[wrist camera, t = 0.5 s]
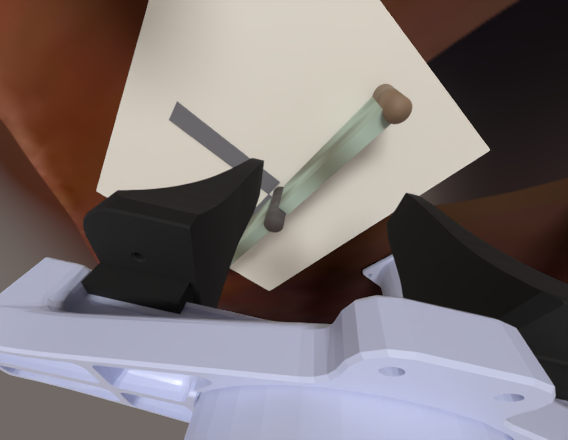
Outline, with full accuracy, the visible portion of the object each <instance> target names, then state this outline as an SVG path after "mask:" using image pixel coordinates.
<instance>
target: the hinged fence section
mask: <svg viewBox="0 0 568 440" xmlns="http://www.w3.org/2000/svg"><path fill="white" fill-rule="evenodd" d="M411 112H412V102H411V101H410V99H408V98H407V97H406V96H404V95H403V94H402V93H400V92H399V91H398V90H397V89H395V88H394V87H393V86H391V85H390V84H382V85H380V86H378V87H377V88H376V89H375V91H374V93H373V96H372V97H371V98H370V99H369V100H368V101H367V102H366V103H365V104H364V105H363V106H362V107H361V108H360V110H359V111H358V112H357V113H356V114H355V115H354V116H353V117H352V118H351V119H350V120H349V121H348V122H347V123H346V124H345V125H344V126H343V127H342V128H341V129H340V130H339V131H338V132H337V133H336V134H335V135H334V136H333V137H332V138H331V139H330V140H329V141H328V142H327V143H326V144H325V145H324V146H323V147H322V148H321V149H320V150H319V151H318V152H317V153H316V154H315V155H314V156H313V157H312V158H311V159H310V160H309V161H308V162H307V163H306V164H305V165H304V166H303V167H302V168H301V169H300V170H299V171H298V172H297V173H296V174H295V175H294V176H293V177H292V178H291V179H290V180H289V181H288V182H287V183H286V184H285V185H284V188H283V192H282V196H281V200H280V204H279V209H281V210H282V211H284V212H285V213H286V214H290V213H291V212H292V211H293V210H294V209H295V208H296V207H298V206H299V205H300V204H301V203H302V202H303V201H304V200H305V199H307V198H308V197H309V196H310V195H311V194H312V193H313V192H315V191H316V190H317V189H318V188H319V187H320V186H321V185H322V184H324V183H325V182H326V181H327V180H328V179H329V178H330V177H332V176H333V175H334V174H335V173H336V172H337V171H338V170H339V169H341V168H342V167H343V166H344V165H345V164H346V163H347V162H348V161H350V160H351V159H352V158H353V157H354V156H355V155H356V154H358V153H359V152H360V151H361V150H362V149H363V148H364V147H365V146H367V145H368V144H369V143H370V142H371V141H372V140H373V139H375V138H376V137H377V136H378V135H379V134H380V133H381V132H382V131H384V130H385V129H386V128H387V127H388V126H389V125H390V124H399V123H402V122H404V121H405V120H406V119H407V118H408V117H409V116H410V114H411Z"/></svg>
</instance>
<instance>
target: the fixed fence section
mask: <svg viewBox="0 0 568 440" xmlns="http://www.w3.org/2000/svg"><path fill="white" fill-rule="evenodd" d="M283 188H284V187H277V188H275V190H274V192H273V195H272V198H270V199H269V200H268V201H267V202H266V203H265V204H264V205H263V206H262V207H261V208H260V209H259V210H258V211H257V212H256V213H255V214H254V215H253V217H252V218H251V219H250V221H249V223H248V225H247V227H246V229H245V231H244V233H243V235H242V237H241V239H240V241H239V244H238V246H237V249H236V251H235V254H234V257H233V260H232V263H231V265H232V264H233V263H234V262H235V261H236V260H238V259H239V258H240V257H241V256H242V255H243V254H244V253H245V252H247V251H248V250H249V249H250V248H251V247H252V246H253V245H255V244H256V243H257V242H258V241H259V240H260V239H261V238H262V237H264V236H265V235H266V234H267V233H268V232H269V231H270V232H274V233H275V232H280V231H281V230H282V229H283V226H284V221H285V216H286V213H285V212H284V211H282V210H281V209H279V204H280V200H281V196H282V192H283Z"/></svg>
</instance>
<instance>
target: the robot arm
mask: <svg viewBox="0 0 568 440" xmlns="http://www.w3.org/2000/svg"><path fill="white" fill-rule="evenodd" d="M263 167H264V160H260V159H255V158H251V159H249V160H247V161H245V162H243V163H241V164H239V165H237V166H235V167H233V168H231V169H229V170H227V171H225V172H223V173H220V174H218V175H216V176H213V177H210V178H207V179H204V180H200V181H197V182H193V183H188V184H183V185H179V186H173V187H165V188H156V189H142V190H117V191H116V192H115V193H113V194H112V195H111V196H109V197H108V198H107V199H105V200H104V201H103V202H101V203H100V204H98V205H97V206H96V207H94V208H93V209H92V210H90V211H89V212H88V213H87V214H86V216H85V217H84V220H83V227H84V231H85V233H86V236H87V238H88V240H89V242H90V244H91V246H92V248H93V250H94V251H95V253H96V255H97V257H98V259H99V261H100V263H99V264H98V265H97V266H96V267H95V269H94V270H91V269H89V268H88V267H86V266H84V265H81V264H77V263H73V262H68V261H64V260H59V259H55V258H50V257H49V258H45V259H43V260H42V261H41V262H40V263H38V264H37V265H36V266H35V267H33V268H32V269H31V270H29V271H28V272H27V273H26V274H24V275H23V276H22V277H21V278H19V279H18V280H17V281H16V282H14V283H13V284H12V285H11V286H9V287H8V288H7V289H6V290H4V291H3V292H2V293H0V370H2V371H4V372H6V373H7V374H9V375H13V376H17V377H21V378H25V379H30V380H34V381H38V382H43V383H47V384H51V385H55V386H59V387H62V388H66V389H70V390H74V391H78V392H81V393H85V394H89V395H92V396H96V397H100V398H103V399H107V400H110V401H114V402H117V403H121V404H124V405H128V406H131V407H135V408H139V409H142V410H145V411H149V412H153V413H156V414H160V415H163V416H167V417H171V418H174V419H177V420H181V421H184V422H188V423H189V426H188V429H187V432H186V435H185V438H184V440H568V284H566V283H564V282H562V281H559V280H557V279H555V278H553V277H551V276H548V275H546V274H544V273H542V272H540V271H538V270H535V269H533V268H531V267H529V266H527V265H525V264H523V263H521V262H520V261H518V260H516V259H514V258H512V257H510V256H508V255H506V254H504V253H503V252H501V251H499V250H497V249H496V248H494V247H492V246H491V245H489V244H487V243H486V242H484V241H482V240H481V239H479V238H478V237H476V236H475V235H473V234H472V233H470V232H469V231H467V230H466V229H465V228H463V227H462V226H460V225H459V224H458V223H456V222H455V221H453V220H452V219H451V218H449V217H448V216H447V215H446V214H444V213H443V212H442V211H440V210H439V209H438V208H436V207H435V206H434V205H432V204H431V203H429V202H428V201H426V200H425V199H423V198H422V197H420V196H418V195H414V194H410V193H405V195H404V196H403V198H402V200H401V201H400V203H399V205H398V206H397V208H396V209H395V211H394V213H393V214H392V216H391V218H390V219H389V221H388V222H387V231H388V239H389V243H390V247H391V251H392V255H390V256H388V257H386V258H384V259H382V260H380V261H379V262H377V263H375V264H373V265H371V266H369V267H367V268H365V269H364V270H363V275H365V276H366V277H367V278H369V279H370V280H372V281H373V282H374V283H376V284H377V285H378V286H380V287H381V289H382V294H383V296H381V295H375V296H370V297H366V298H362V299H357V300H355V301H354V302H353V303H351V304H350V305H349V306H347V307H346V308H345V309H343V310H342V311H341V312H340V314H339V315H338V317H337V318H336V320H335V321H334V323H333V324H314V323H292V322H273V321H269V320H264V319H260V318H256V317H251V316H247V315H242V314H238V313H233V312H229V311H224V310H220V309H216V308H217V305H218V302H219V299H220V296H221V292H222V289H223V286H224V283H225V280H226V277H227V274H228V271H229V268H230V266H231V263H232V260H233V257H234V254H235V251H236V249H237V246H238V244H239V241H240V239H241V237H242V235H243V233H244V231H245V229H246V227H247V225H248V223H249V221H250V219H251V217H252V215H253V213H254V211H255V208H256V205H257V202H258V199H259V196H260V190H261V182H262V174H263Z"/></svg>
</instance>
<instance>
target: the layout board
mask: <svg viewBox="0 0 568 440" xmlns="http://www.w3.org/2000/svg"><path fill="white" fill-rule="evenodd" d="M382 84H390V85H391V86H393V87H394V88H395V89H397V90H398V91H399V92H400V93H402V94H403V95H404V96H406V97H407V98H408V99H410V101H411V102H412V112H411V114H410V116H409V117H408V118H407V119H406V120H405V121H404V122H402V123H399V124H390V125H389V126H388V127H387V128H386V129H385V130H384V131H382V132H381V133H380V134H379V135H378V136H377V137H376V138H375V139H373V140H372V141H371V142H370V143H369V144H368V145H367V146H365V147H364V148H363V149H362V150H361V151H360V152H359V153H358V154H356V155H355V156H354V157H353V158H352V159H351V160H350V161H348V162H347V163H346V164H345V165H344V166H343V167H342V168H341V169H339V170H338V171H337V172H336V173H335V174H334V175H333V176H332V177H330V178H329V179H328V180H327V181H326V182H325V183H324V184H322V185H321V186H320V187H319V188H318V189H317V190H316V191H315V192H313V193H312V194H311V195H310V196H309V197H308V198H307V199H305V200H304V201H303V202H302V203H301V204H300V205H299V206H298V207H296V208H295V209H294V210H293V211H292V212H291V213H290V214H286V216H285V221H284V226H283V229H282V230H281V231H280V232H275V233H274V232H270V231H269V232H268V233H267V234H266V235H265V236H264V237H262V238H261V239H260V240H259V241H258V242H257V243H256V244H255V245H253V246H252V247H251V248H250V249H249V250H248V251H247V252H245V253H244V254H243V255H242V256H241V257H240V258H239V259H238V260H236V261H235V262H234V263H233V264H232V265H231V266H230V269H232V270H234V271H236V272H237V273H239V274H241V275H242V276H244V277H246V278H248V279H249V280H251V281H253V282H255V283H256V284H258V285H260V286H261V287H263V288H265V289H267V290H268V291H270V290H272V289H274V288H275V287H277V286H278V285H280V284H281V283H283V282H285V281H286V280H288V279H289V278H291V277H292V276H294V275H296V274H297V273H299V272H300V271H302V270H303V269H305V268H307V267H308V266H310V265H311V264H313V263H314V262H316V261H317V260H319V259H321V258H322V257H324V256H325V255H327V254H328V253H330V252H332V251H333V250H335V249H336V248H338V247H339V246H341V245H343V244H344V243H346V242H347V241H349V240H350V239H352V238H354V237H355V236H357V235H358V234H360V233H361V232H363V231H365V230H366V229H368V228H369V227H371V226H372V225H374V224H375V223H377V222H379V221H380V220H382V219H383V218H385V217H386V216H388V215H390V214H391V213H393V212H394V211H395V209H396V208H397V206H398V205H399V203H400V201H401V200H402V198H403V196H404V195H405V193H410V194H414V195H418V196H419V195H421V194H422V193H424V192H425V191H427V190H429V189H430V188H432V187H433V186H435V185H436V184H438V183H440V182H441V181H443V180H444V179H446V178H448V177H449V176H451V175H452V174H454V173H455V172H457V171H458V170H460V169H462V168H463V167H465V166H466V165H468V164H470V163H471V162H473V161H474V160H476V159H477V158H479V157H480V156H482V155H484V154H485V153H487V152H488V151H490V149H489V148H488V146H487V145H486V144H485V142H484V141H483V140H482V138H481V137H480V136H479V134H478V133H477V131H476V130H475V129H474V127H473V126H472V125H471V123H470V122H469V121H468V119H467V118H466V117H465V115H464V114H463V113H462V111H461V110H460V108H459V107H458V106H457V104H456V103H455V102H454V100H453V99H452V98H451V97H450V95H449V94H448V92H447V91H446V90H445V88H444V87H443V85H442V84H441V83H440V81H439V80H438V79H437V77H436V76H435V75H434V73H433V72H432V71H431V69H430V68H429V66H428V65H427V64H426V62H425V61H424V60H423V58H422V57H421V56H420V54H419V53H418V52H417V50H416V49H415V48H414V46H413V45H412V43H411V42H410V41H409V39H408V38H407V37H406V35H405V34H404V33H403V31H402V30H401V29H400V27H399V26H398V25H397V23H396V22H395V20H394V19H393V18H392V16H391V15H390V14H389V12H388V11H387V10H386V8H385V7H384V6H383V4H382V3H381V1H380V0H149V2H148V5H147V9H146V13H145V16H144V20H143V23H142V27H141V31H140V34H139V38H138V42H137V45H136V49H135V52H134V56H133V60H132V63H131V67H130V71H129V74H128V78H127V81H126V85H125V89H124V92H123V96H122V99H121V103H120V107H119V110H118V114H117V118H116V121H115V125H114V128H113V132H112V136H111V139H110V143H109V147H108V150H107V154H106V157H105V161H104V165H103V168H102V172H101V175H100V179H99V183H98V186H97V190H96V191H97V192H99V193H100V194H102V195H104V196H106V197H107V198H108V197H109V196H111V195H112V194H113V193H115V192H116V191H117V190H142V189H156V188H165V187H173V186H179V185H183V184H188V183H193V182H197V181H200V180H204V179H207V178H210V177H213V176H216V175H218V174H220V173H223V172H225V171H227V170H229V169H231V168H233V167H235V166H237V165H239V164H241V163H243V162H245V161H247V160H249V159H251V158H255V159H260V160H264V167H263V174H262V182H261V190H260V196H259V199H258V202H257V205H256V208H255V211H254V213H253V215H254V214H255V213H256V212H257V211H258V210H259V209H260V208H261V207H262V206H263V205H264V204H265V203H266V202H267V201H268V200H269V199H270V198H272V195H273V192H274V190H275V188H277V187H284V185H285V184H286V183H287V182H288V181H289V180H290V179H291V178H292V177H293V176H294V175H295V174H296V173H297V172H298V171H299V170H300V169H301V168H302V167H303V166H304V165H305V164H306V163H307V162H308V161H309V160H310V159H311V158H312V157H313V156H314V155H315V154H316V153H317V152H318V151H319V150H320V149H321V148H322V147H323V146H324V145H325V144H326V143H327V142H328V141H329V140H330V139H331V138H332V137H333V136H334V135H335V134H336V133H337V132H338V131H339V130H340V129H341V128H342V127H343V126H344V125H345V124H346V123H347V122H348V121H349V120H350V119H351V118H352V117H353V116H354V115H355V114H356V113H357V112H358V111H359V110H360V108H361V107H362V106H363V105H364V104H365V103H366V102H367V101H368V100H369V99H370V98H371V97H372V96H373V93H374V91H375V89H376V88H377V87H378V86H380V85H382ZM253 215H252V217H253ZM252 217H251V218H252Z"/></svg>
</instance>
